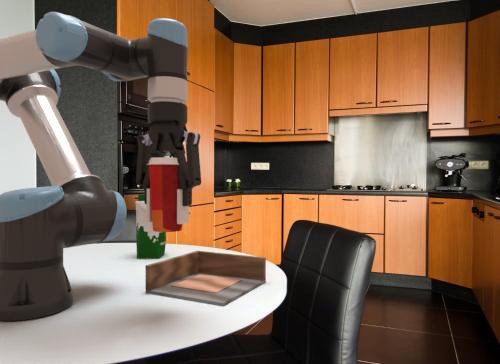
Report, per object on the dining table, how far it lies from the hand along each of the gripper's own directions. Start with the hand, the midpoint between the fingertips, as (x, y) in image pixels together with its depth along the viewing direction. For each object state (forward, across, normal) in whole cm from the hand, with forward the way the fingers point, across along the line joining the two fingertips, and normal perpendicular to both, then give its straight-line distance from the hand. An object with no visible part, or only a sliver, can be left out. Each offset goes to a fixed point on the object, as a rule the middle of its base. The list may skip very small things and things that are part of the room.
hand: (167, 222), depth 77 cm
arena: (+17, +1, -16) cm, 23 cm away
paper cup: (+2, 0, 0) cm, 2 cm away
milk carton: (+17, +37, -38) cm, 56 cm away
